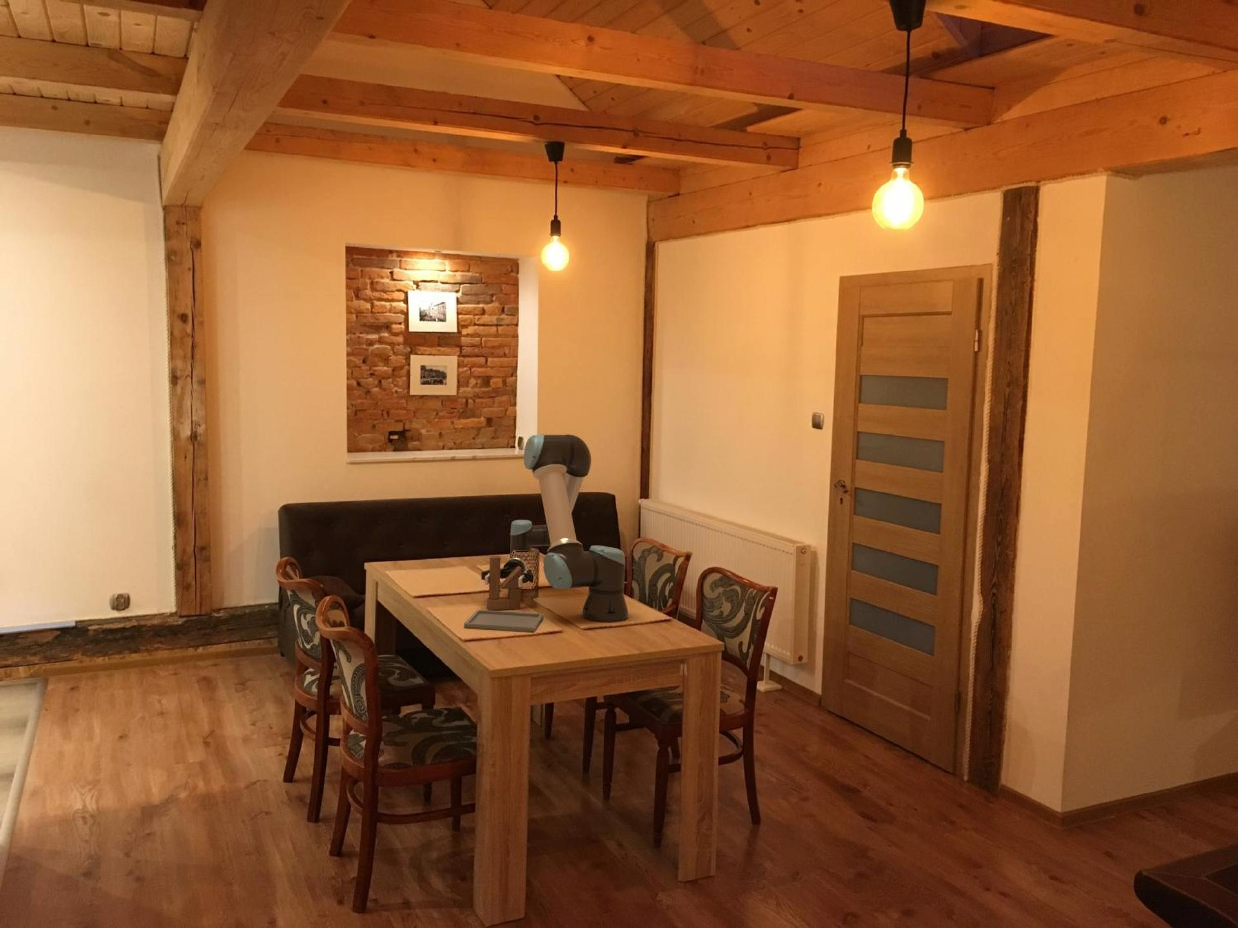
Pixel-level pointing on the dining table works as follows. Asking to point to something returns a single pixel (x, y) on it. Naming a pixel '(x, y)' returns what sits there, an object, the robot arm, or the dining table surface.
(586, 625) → the dining table surface
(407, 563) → the dining table surface
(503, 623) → the slate tray
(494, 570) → the wooden block
